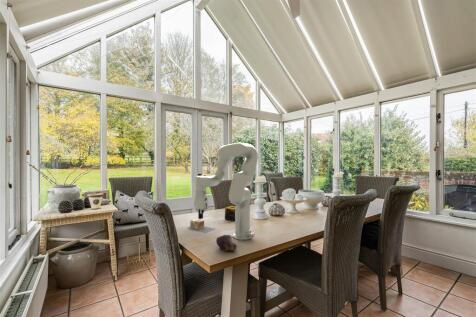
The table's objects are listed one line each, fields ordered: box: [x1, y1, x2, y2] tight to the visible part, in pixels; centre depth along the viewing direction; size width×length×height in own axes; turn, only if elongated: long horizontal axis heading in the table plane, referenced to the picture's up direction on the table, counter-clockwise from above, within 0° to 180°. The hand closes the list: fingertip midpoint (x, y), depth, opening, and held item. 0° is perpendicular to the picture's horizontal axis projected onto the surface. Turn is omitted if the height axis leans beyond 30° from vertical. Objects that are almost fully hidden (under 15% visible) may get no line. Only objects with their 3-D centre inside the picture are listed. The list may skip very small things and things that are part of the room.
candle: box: [224, 205, 236, 222], centre depth 186 cm, size 10×10×10 cm
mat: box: [186, 225, 216, 233], centre depth 160 cm, size 19×10×1 cm, turn 55°
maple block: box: [189, 218, 205, 229], centre depth 162 cm, size 5×5×9 cm
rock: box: [215, 234, 238, 252], centre depth 123 cm, size 12×9×10 cm
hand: (200, 218), depth 160 cm, fingers closed
